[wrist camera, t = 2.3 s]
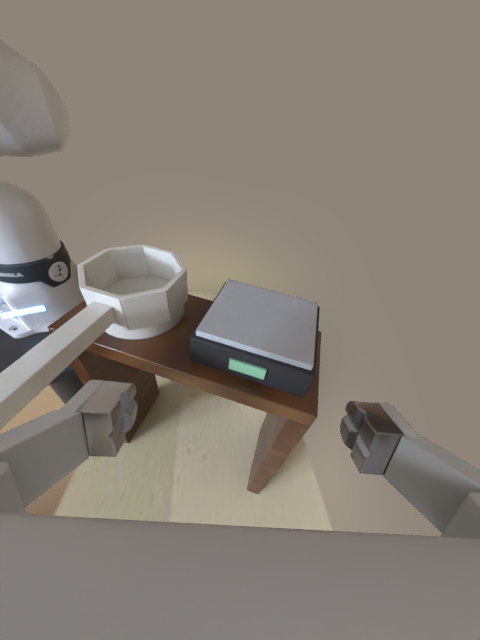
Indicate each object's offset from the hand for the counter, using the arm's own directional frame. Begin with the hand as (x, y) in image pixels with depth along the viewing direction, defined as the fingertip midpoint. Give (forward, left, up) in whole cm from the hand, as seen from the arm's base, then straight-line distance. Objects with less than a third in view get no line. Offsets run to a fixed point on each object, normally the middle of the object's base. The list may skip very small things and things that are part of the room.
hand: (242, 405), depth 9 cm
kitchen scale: (0, +8, -5) cm, 9 cm away
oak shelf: (-5, +7, -27) cm, 29 cm away
